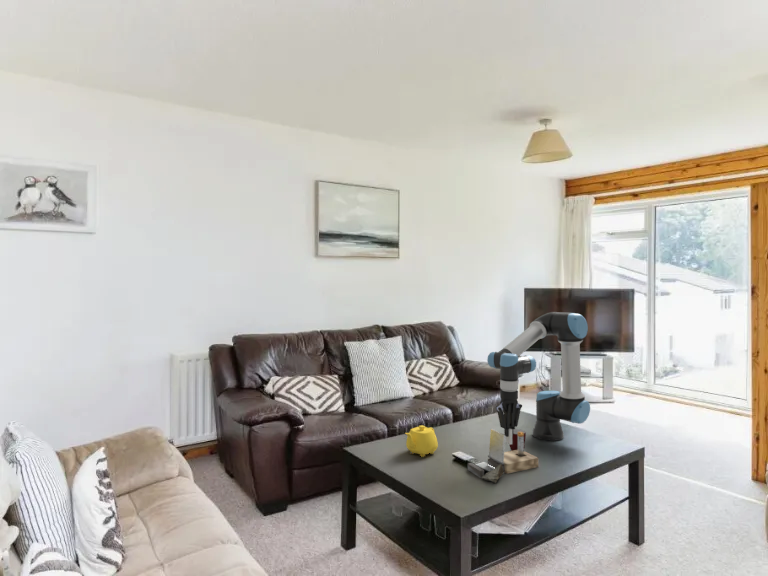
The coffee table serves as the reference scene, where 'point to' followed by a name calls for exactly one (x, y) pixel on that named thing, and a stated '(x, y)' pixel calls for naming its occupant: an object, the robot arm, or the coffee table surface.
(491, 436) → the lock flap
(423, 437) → the teapot
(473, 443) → the coffee table surface
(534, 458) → the block
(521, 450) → the pin
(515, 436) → the mug
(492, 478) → the rock sample
